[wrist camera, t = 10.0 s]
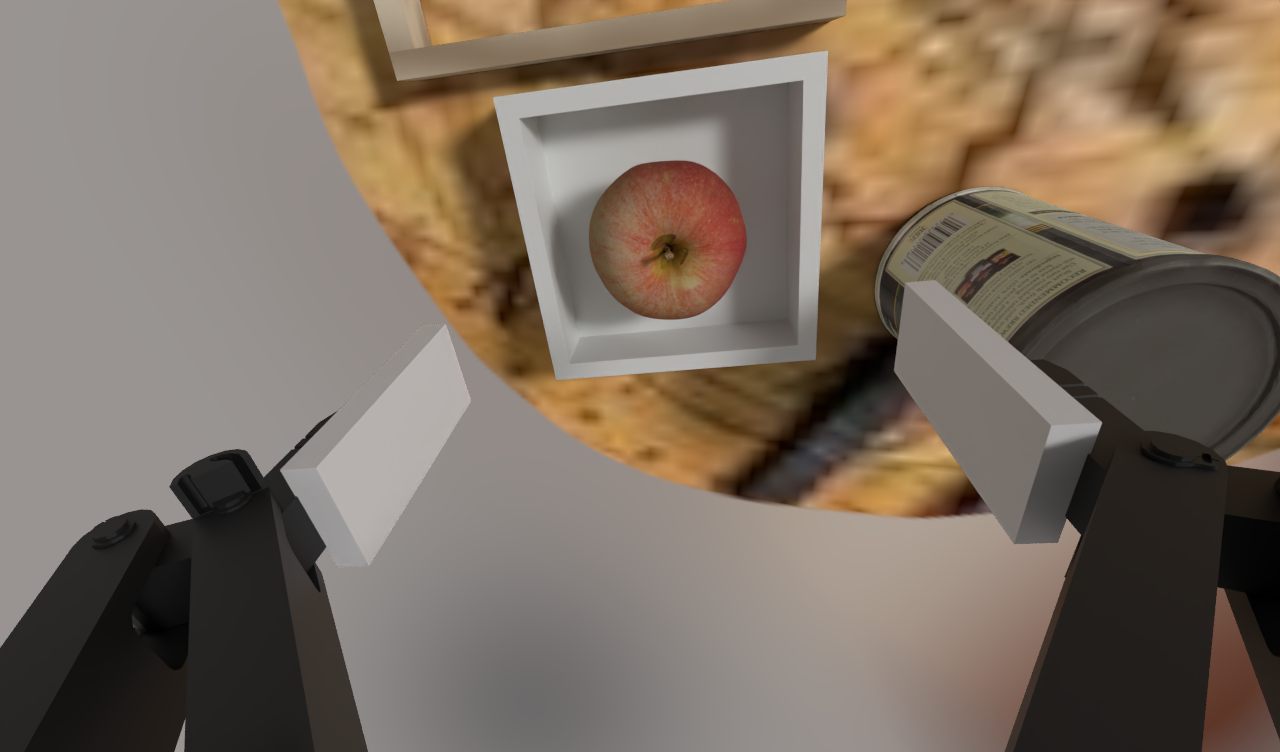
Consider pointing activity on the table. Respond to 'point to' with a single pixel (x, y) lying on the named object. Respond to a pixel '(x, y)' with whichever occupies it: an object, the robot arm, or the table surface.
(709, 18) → the corral
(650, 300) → the apple
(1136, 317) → the coffee can
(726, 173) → the bin
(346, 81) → the table surface
